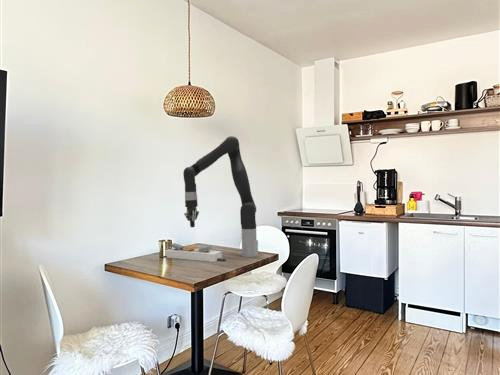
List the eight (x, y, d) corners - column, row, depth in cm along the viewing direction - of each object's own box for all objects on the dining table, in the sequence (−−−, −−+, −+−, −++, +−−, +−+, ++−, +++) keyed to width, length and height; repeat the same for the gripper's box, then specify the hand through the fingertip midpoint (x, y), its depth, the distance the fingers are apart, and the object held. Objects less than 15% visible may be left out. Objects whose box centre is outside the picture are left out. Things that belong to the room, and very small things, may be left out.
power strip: (228, 259, 216) (228, 251, 216) (221, 262, 208) (221, 253, 208) (171, 254, 235) (170, 246, 235) (162, 256, 227) (161, 249, 227)
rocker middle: (197, 247, 223) (197, 245, 223) (193, 249, 219) (193, 246, 220) (188, 248, 226) (187, 246, 226) (184, 249, 223) (183, 247, 223)
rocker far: (183, 248, 228) (183, 246, 228) (179, 250, 224) (179, 247, 224) (174, 245, 231) (174, 243, 231) (170, 246, 227) (170, 244, 227)
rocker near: (212, 248, 218) (211, 245, 218) (208, 249, 215) (208, 247, 215) (202, 250, 221) (202, 247, 221) (199, 251, 218) (198, 249, 218)
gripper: (190, 199, 217) (191, 228, 218) (202, 198, 229) (203, 225, 230) (179, 200, 221) (181, 228, 221) (192, 198, 232) (193, 225, 233)
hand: (192, 227), depth 225 cm, fingers closed
